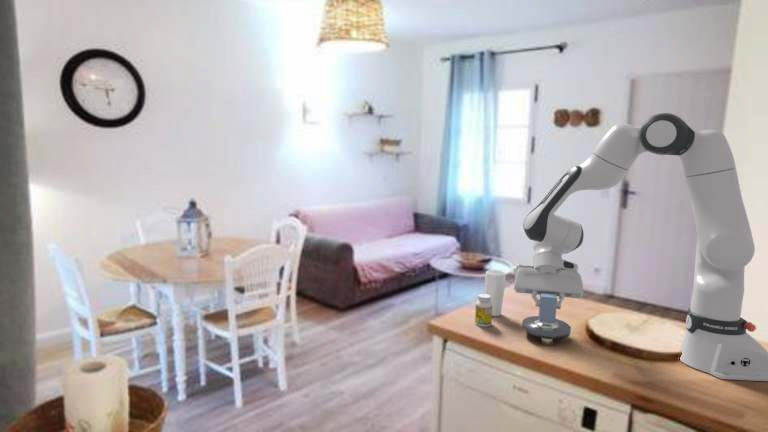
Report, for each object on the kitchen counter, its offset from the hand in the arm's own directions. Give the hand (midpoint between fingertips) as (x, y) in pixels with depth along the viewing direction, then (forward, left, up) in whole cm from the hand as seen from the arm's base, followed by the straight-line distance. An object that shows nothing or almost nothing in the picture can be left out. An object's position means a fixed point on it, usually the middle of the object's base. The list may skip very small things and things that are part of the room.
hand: (548, 307), depth 140 cm
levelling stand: (0, -1, -10) cm, 10 cm away
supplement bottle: (+19, -6, -10) cm, 22 cm away
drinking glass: (+16, -16, -10) cm, 25 cm away
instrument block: (0, -1, -4) cm, 4 cm away
